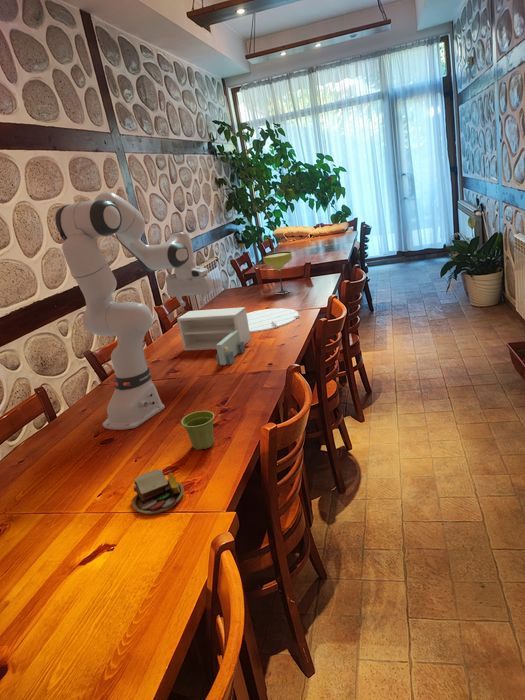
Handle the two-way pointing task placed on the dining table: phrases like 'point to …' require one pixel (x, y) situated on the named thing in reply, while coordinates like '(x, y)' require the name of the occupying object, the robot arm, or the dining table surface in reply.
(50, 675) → the dining table surface
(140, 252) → the robot arm
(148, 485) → the toy sandwich meal
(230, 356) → the hinge clips
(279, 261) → the cocktail glass
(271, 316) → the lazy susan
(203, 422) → the plant pot
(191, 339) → the cabinet
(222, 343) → the pale blue panel
